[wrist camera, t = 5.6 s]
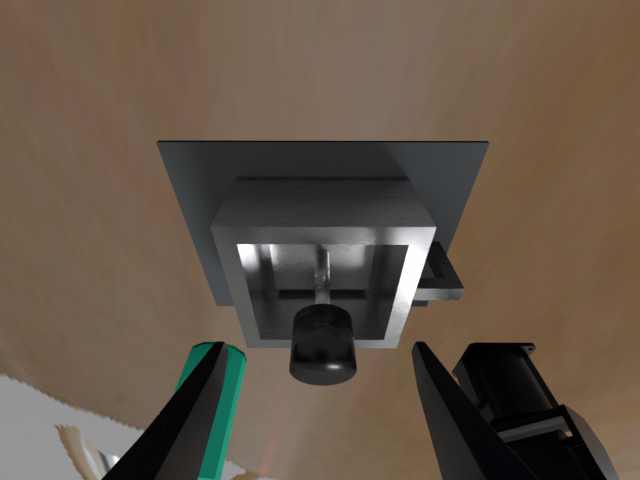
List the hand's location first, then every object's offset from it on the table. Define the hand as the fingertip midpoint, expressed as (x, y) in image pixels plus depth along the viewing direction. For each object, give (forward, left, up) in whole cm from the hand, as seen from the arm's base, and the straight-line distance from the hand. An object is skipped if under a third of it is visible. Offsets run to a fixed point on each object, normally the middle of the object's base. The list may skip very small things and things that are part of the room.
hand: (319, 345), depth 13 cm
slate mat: (0, 0, -8) cm, 8 cm away
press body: (-2, 0, -8) cm, 8 cm away
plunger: (0, 0, -7) cm, 7 cm away
